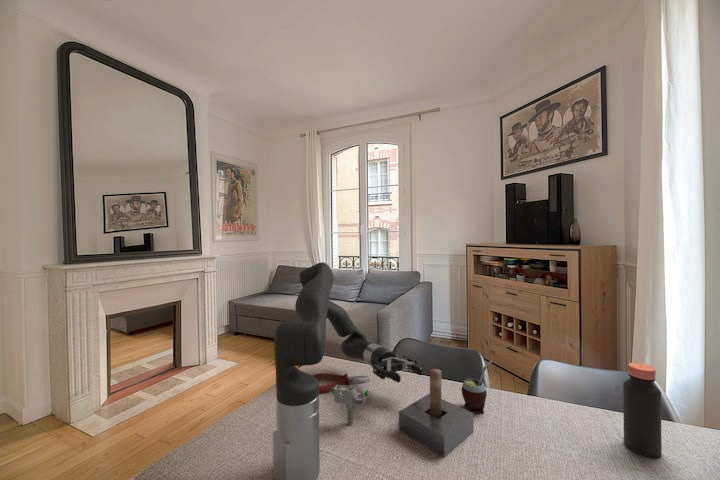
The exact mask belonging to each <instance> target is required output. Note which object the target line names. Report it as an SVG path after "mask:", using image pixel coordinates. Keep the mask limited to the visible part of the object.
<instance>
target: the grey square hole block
mask: <svg viewBox="0 0 720 480" xmlns="http://www.w3.org/2000/svg"><path fill="white" fill-rule="evenodd" d="M441 399H442V417H441V418H439V419H437V418H435V417H433V416H431V415H430V393H428V394H427V395H425V396H423V397H422V398H420V399H418V400H416V401H415V402H412V403H411V404H409V405H408V406H406V407H404V408H402V409H400V410H399V411H398V430H399V431H400V432H401V433H403V434H405V435H407V436H408V437H410V438H411V439H414V440H415V441H417V442H418V443H420V444H422V445H424V446H425V447H426V448H428V449H431V450H432V451H433V452H435V453H437V454H438V455H440V456H441V457H443V458H445V457H447V456H448V455H449V454H450V453H451V452H452V451H454V450H455V449H456V448H457V447H458V446H460V444H462V443H463V441H465V440H466V439H467V438H469V437H470V435H472V434H473V433H474V429H475V428H474V423H475V422H474V412H473V411H472V412H470V411H468V409H465V408H463V407H460V406H458V405H456V404H455V403H452V402H449V401H447V400H445V399H443V398H441Z"/></svg>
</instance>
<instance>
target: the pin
mask: <svg viewBox="0 0 720 480" xmlns="http://www.w3.org/2000/svg"><path fill="white" fill-rule="evenodd" d="M429 394H430V415H431V416H433V417H435V418H437V419H439V418H441V417H442V399H443V398H442V370H440V369H437V368H431V369H430V370H429Z"/></svg>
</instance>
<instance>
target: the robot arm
mask: <svg viewBox="0 0 720 480" xmlns="http://www.w3.org/2000/svg"><path fill="white" fill-rule="evenodd" d="M333 273H334V272H333V271H332V269H331V267H330V266H329V264H328V263H326V262H317V263H316V264H313V265H312V266H309V267H307V268H305V269H304V270H302V271H301V272H299V281H300V283H301V286H302V288H301V289H300V291H299V293H298V295H297V297H296V301H295V306H294V307H295V313H296V315H297V316H298V318H299V319H300V320H301V321H283V322H281V323H279V324H278V326H277V327H276V330H275V332H274V340H273V341H274V343H273V345H274V346H273V347H274V348H273V350H274V364H275V366H274V367H275V388H276V389H275V390H276V393H275V394H276V431H275V430H274V432H273V433H272V476H273V478H274V480H317V479H318V477H319V476H320V472H321V471H320V464H321V462H320V460H321V459H320V394H319V386H320V383H319V380H317V379H316V378H315V377H314V376H312V375H313V374H310V373H307V372H305V371H302V370H300V369H299V368H297V366H298V367H299V366H300V367H302V366H314V365H315V366H316V365H318V364H319V363H321V362H322V360H323V359H324V356H325V355H324V354H325V351H326V341H327V338H326V337H327V336H326V335H327V334H326V332H327V330H326V329H327V319H328V321H329V322H330V325H332V327H333V329H334V330H335V332H336V334H337V335H338V336H339V337H340V338H346V337H347V338H346V339H345V340H343V341H342V343H341V345H340V349H341V352H342V354H343V355H344V356H345V357H347V358H350V359H353V360H361V361H363V362H365V363H366V364H367V365H369V367H371V368H372V373H373V374H374V375H376V376H377V377H378V378H379V379H381V380H386V379H388V380H389V379H391V380H392V381H393V382H396V383H400V382H401V374H400V373H398V372H405V373H406V372H407V371H408V372H413V373H414V374H416V375H419V376H422V375H423V368H422V367H420V366H419V365H418V360H416V359H415V358H412V357H409V356H408V355H403V358H399V357H396V355H395V353H394V352H393V351H392V350H391V349H388V348H385V347H384V346H382V345H381V344H380V345H379V344H376V343H375V342H372V341H370V340H368V337H367V336H366V335H365V333H364V332H362V331H361V330H360V329H359V328H358V327H357V326H356V325H355V323H354V322H353V321H352V319H351V317H350V316H349V314H348V312H347V311H346V310H345V309H344V308H343V307H342V306H340V305H339V304H336V303H335V302H333V301H331V300H330V295H331V289H332V287H333V285H334V274H333ZM403 364H404V367H403Z"/></svg>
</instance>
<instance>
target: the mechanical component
mask: <svg viewBox="0 0 720 480" xmlns="http://www.w3.org/2000/svg"><path fill="white" fill-rule="evenodd" d="M331 394H333V396H334V397H333V398H334V402H335V403H337V404H343V405H345V410H347V411H346V413H347V419H346V420H347V426H349V427H352V425H353V423H354V409H355V408H356V406H363V405H364V404H365V401H366V399H367V398H369V390H368V389H366V388H362V391H361V392H358V391H357V389H356V386H353V385H350V386H345V385H336V386H335V387H332V391H331Z"/></svg>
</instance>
